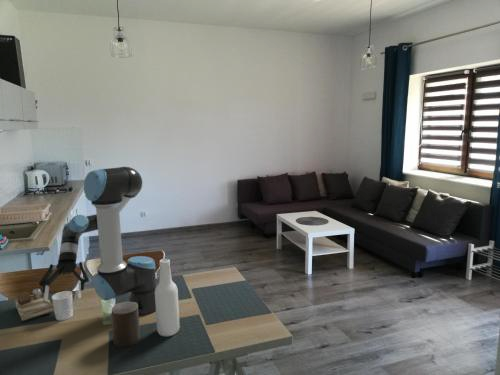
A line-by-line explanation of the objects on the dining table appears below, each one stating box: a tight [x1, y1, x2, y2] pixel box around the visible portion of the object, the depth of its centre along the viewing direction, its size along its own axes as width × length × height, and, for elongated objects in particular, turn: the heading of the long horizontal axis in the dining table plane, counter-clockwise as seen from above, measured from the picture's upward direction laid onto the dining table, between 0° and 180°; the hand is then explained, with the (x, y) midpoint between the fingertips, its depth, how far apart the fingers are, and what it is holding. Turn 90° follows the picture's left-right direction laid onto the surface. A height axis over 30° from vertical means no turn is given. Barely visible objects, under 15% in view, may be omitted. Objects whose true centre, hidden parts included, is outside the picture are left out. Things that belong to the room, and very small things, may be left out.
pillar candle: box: [111, 301, 141, 348], centre depth 139 cm, size 10×10×15 cm
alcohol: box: [155, 258, 181, 337], centre depth 143 cm, size 9×9×30 cm
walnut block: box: [16, 290, 31, 305], centre depth 164 cm, size 4×4×4 cm
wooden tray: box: [14, 291, 54, 322], centre depth 162 cm, size 18×12×4 cm, turn 40°
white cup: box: [51, 290, 74, 321], centre depth 157 cm, size 8×8×10 cm
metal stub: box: [32, 288, 42, 300], centre depth 168 cm, size 3×3×4 cm
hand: (62, 299), depth 158 cm, fingers open, 13 cm apart
